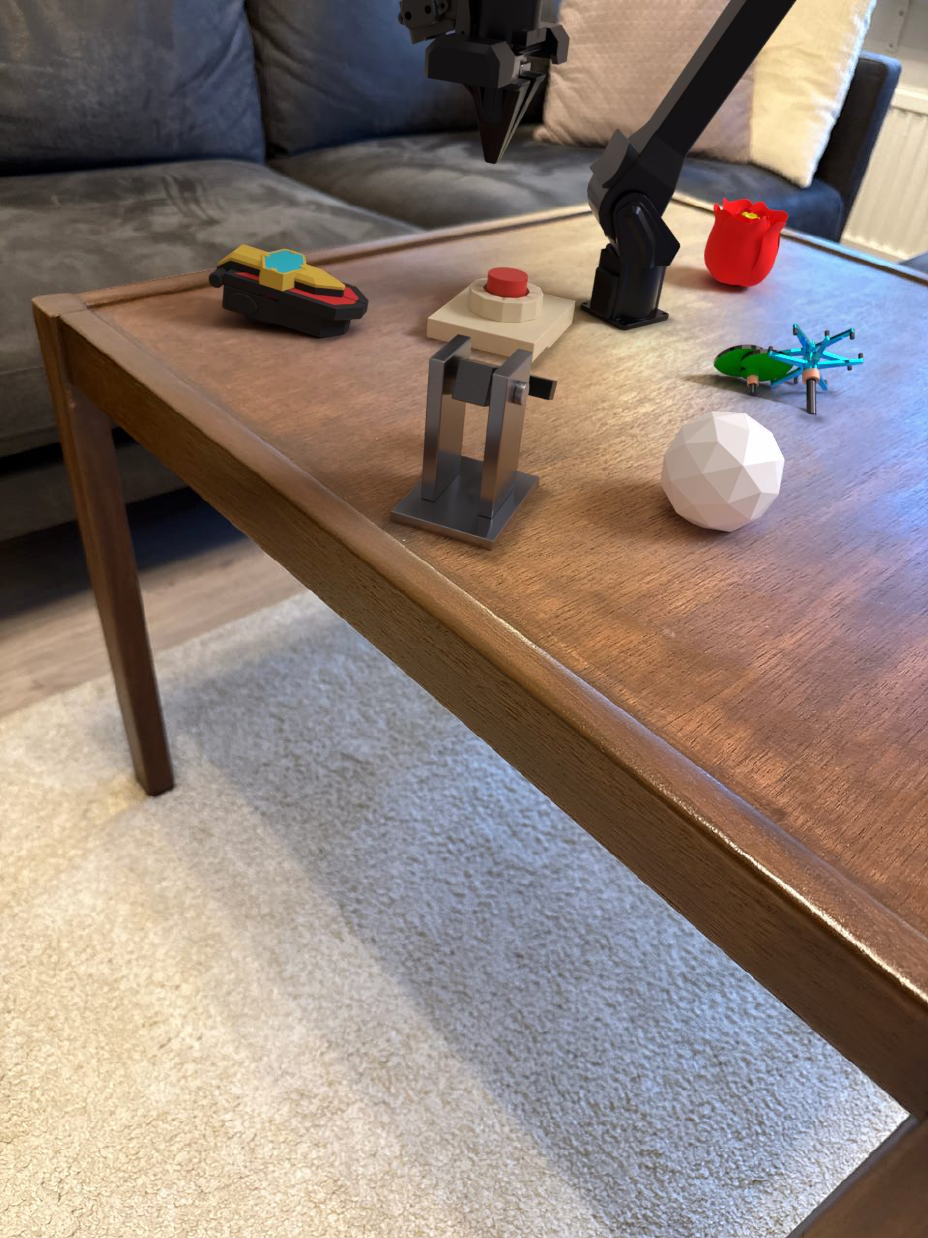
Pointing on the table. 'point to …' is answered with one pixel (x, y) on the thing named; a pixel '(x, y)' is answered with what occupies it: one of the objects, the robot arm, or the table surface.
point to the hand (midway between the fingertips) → (491, 162)
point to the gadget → (286, 292)
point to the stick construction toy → (786, 363)
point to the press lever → (478, 379)
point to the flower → (743, 242)
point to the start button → (507, 282)
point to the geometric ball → (722, 470)
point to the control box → (503, 319)
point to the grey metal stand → (465, 487)
